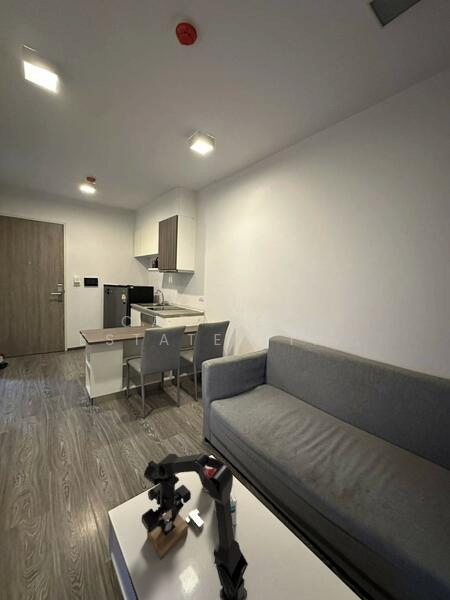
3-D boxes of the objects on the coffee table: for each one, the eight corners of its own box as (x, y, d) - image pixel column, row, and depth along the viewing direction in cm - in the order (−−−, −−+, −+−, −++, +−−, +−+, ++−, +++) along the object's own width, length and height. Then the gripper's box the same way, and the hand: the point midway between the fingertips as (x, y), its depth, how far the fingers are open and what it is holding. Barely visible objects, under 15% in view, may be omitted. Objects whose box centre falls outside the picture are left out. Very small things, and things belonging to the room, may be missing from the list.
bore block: (187, 534, 92) (187, 524, 92) (160, 559, 83) (160, 550, 83) (173, 515, 99) (173, 507, 99) (147, 537, 90) (147, 528, 90)
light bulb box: (236, 524, 96) (237, 500, 95) (221, 530, 94) (221, 506, 93) (227, 501, 106) (227, 479, 105) (213, 506, 103) (213, 484, 102)
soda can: (214, 495, 109) (214, 471, 108) (200, 492, 110) (200, 468, 109) (218, 482, 116) (218, 459, 114) (204, 479, 117) (204, 457, 116)
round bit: (173, 536, 91) (173, 520, 91) (166, 543, 89) (165, 527, 88) (169, 529, 94) (168, 514, 93) (161, 536, 91) (161, 520, 90)
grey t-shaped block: (206, 524, 96) (206, 518, 96) (195, 535, 92) (195, 530, 92) (196, 512, 101) (196, 507, 101) (184, 522, 97) (184, 517, 96)
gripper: (176, 463, 102) (176, 496, 103) (134, 491, 88) (135, 528, 90) (191, 479, 94) (191, 514, 95) (148, 512, 80) (149, 552, 82)
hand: (167, 525), depth 91 cm, fingers open, 4 cm apart
